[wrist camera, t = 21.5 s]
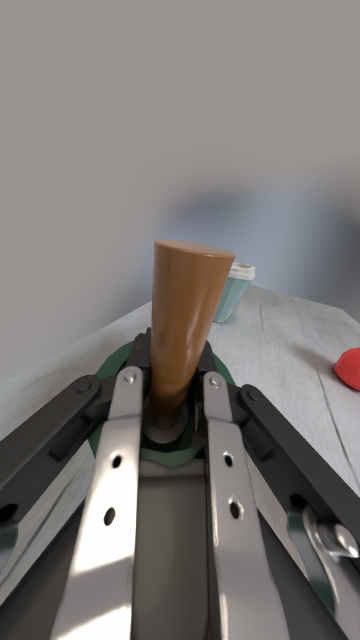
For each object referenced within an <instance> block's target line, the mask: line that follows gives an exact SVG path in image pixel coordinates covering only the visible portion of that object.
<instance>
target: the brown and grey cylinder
mask: <svg viewBox="0 0 360 640" xmlns="http://www.w3.org/2000/svg"><path fill="white" fill-rule="evenodd" d="M234 258H235V255H234V254H233V253H232V252H229V251H226V250H223V249H219V248H215V247H211V246H206V245H201V244H195V243H189V242H183V241H176V240H165V239H160V240H155V242H154V267H153V293H152V294H153V295H152V296H153V297H152V322H151V351H150V362H151V366H150V386H149V394H148V395H147V396H146V397H145V398H144V400H143V420H142V447H143V448H147V449H151V450H155V451H159V452H164V453H166V452H171V451H175V450H176V448H177V446H178V444H179V442H180V440H181V438H182V436H183V433H184V431H185V429H186V427H187V424H188V419H189V410H188V405H187V403H186V401H185V400H186V397H187V394H188V391H189V388H190V386H191V383H192V380H193V377H194V374H195V371H196V368H197V365H198V362H199V359H200V357H201V354H202V351H203V348H204V345H205V342H206V339H207V336H208V333H209V331H210V328H211V325H212V322H213V319H214V316H215V313H216V310H217V307H218V304H219V302H220V299H221V296H222V293H223V290H224V287H225V284H226V281H227V278H228V275H229V273H230V270H231V267H232V264H233V261H234Z"/></svg>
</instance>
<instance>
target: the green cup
mask: <svg viewBox="0 0 360 640" xmlns="http://www.w3.org/2000/svg"><path fill="white" fill-rule="evenodd" d="M134 341H135V340H134ZM134 341H132V342H130V343H128V344H126V345H124V346H122V347H121V348H120V349H118V350H117V351H116V352H114V353H113V354H112V355H111V356H109V358H107V360H106V361H105V362H104V364H103V365H102V366H101V368H100V369H99V370H98V372H97V373H96V374H95V376H97V377H98V378H99V380H100V379H104V378H108V377H112V376H115V375H117V374H119V372H120V371H121V370H123V369H124V368H125V366H126V363H127V360H128V357H129V354H130V352H131V349H132V346H133V344H134ZM213 356H214V359H215V362H216V366H217V369H218V372H219V374H220V375H221V376H222V377H223V378H224V379H225V381H226V382H228V383H230V384H232V385H235V386H236V384H235V382H234V381H233V379H232V377H231V375H230V373H229V371H228V369H227V368H226V366H225V365H224V364H223V363H222V361H221V360H220V359H219V358H218V357H217V356H216V355H215V354H214V353H213ZM148 394H149V389H148V388H146V389H145V395H144V398H145V397H146V396H147V395H148ZM195 397H196V395H195V391H191V390H190V388H189V391H188V394H187V397H186V400H185V401H186V403H187V405H188V410H189V419H188V424H187V427H186V429H185V431H184V433H183V436H182V438H181V440H180V442H179V444H178V446H177V448H176V450H175V451H171V452H166V453H164V452H159V451H155V450H151V449H147V448H143V447H142V450H141V459H150V460H153V461H155V462H158V463H161V464H163V465H166V466H168V467H172V468H173V467H176V466H179V465H181V464H184V463H186V462H189V461H191V460H192V446H191V443H192V438H193V421H194V399H195ZM143 400H144V399H143ZM107 419H108V416H107V417H104V418H103V419H102V421H101V422H100V423H99V424H98V426H97V427H96V428H95V429H94V431H93V432H92V433H91V434H90V436H89V437H88V438H87V439H88V441H89V444H90V447H91V449H92V452H93V455H94V457H95V458H96V454H97V449H98V445H99V441H100V436H101V432H102V428H103V425H104V423H105V421H106V420H107ZM225 463H226V461H225Z"/></svg>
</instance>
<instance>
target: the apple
mask: <svg viewBox="0 0 360 640" xmlns="http://www.w3.org/2000/svg"><path fill="white" fill-rule="evenodd" d="M334 370H335V372H336V373H337V375H338V376H339V377H340V378H341V379H342V381H343V382H344V383H345V384H347V385H348V386H350V387H352V388H354V389H356V390H358V391H360V348H354V349H350V350H348V351H346V352H344V353H343V354H342V355H341V357H340V358H339V360H338V361H337V363H336V364H335V369H334Z"/></svg>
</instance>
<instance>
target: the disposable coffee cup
mask: <svg viewBox="0 0 360 640" xmlns="http://www.w3.org/2000/svg"><path fill="white" fill-rule="evenodd" d="M254 271H255V267H253V266H251V265H247V264H242V263H234V262H233V264H232V267H231V270H230V273H229V275H228V278H227V281H226V284H225V287H224V290H223V293H222V296H221V299H220V302H219V304H218V307H217V310H216V313H215V316H214V319H213V321H215V322H225V321H226V320H227V319H228V318H229V317H230V315H231V313H232V312H233V310H234V309H235V307H236V305H237V304H238V302H239V300H240V299H241V297H242V295H243V294H244V292H245V291H246V289H247V287H248V286H249V284H250V282H251V281H252V280H253V279H254V276H255V273H254Z"/></svg>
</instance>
